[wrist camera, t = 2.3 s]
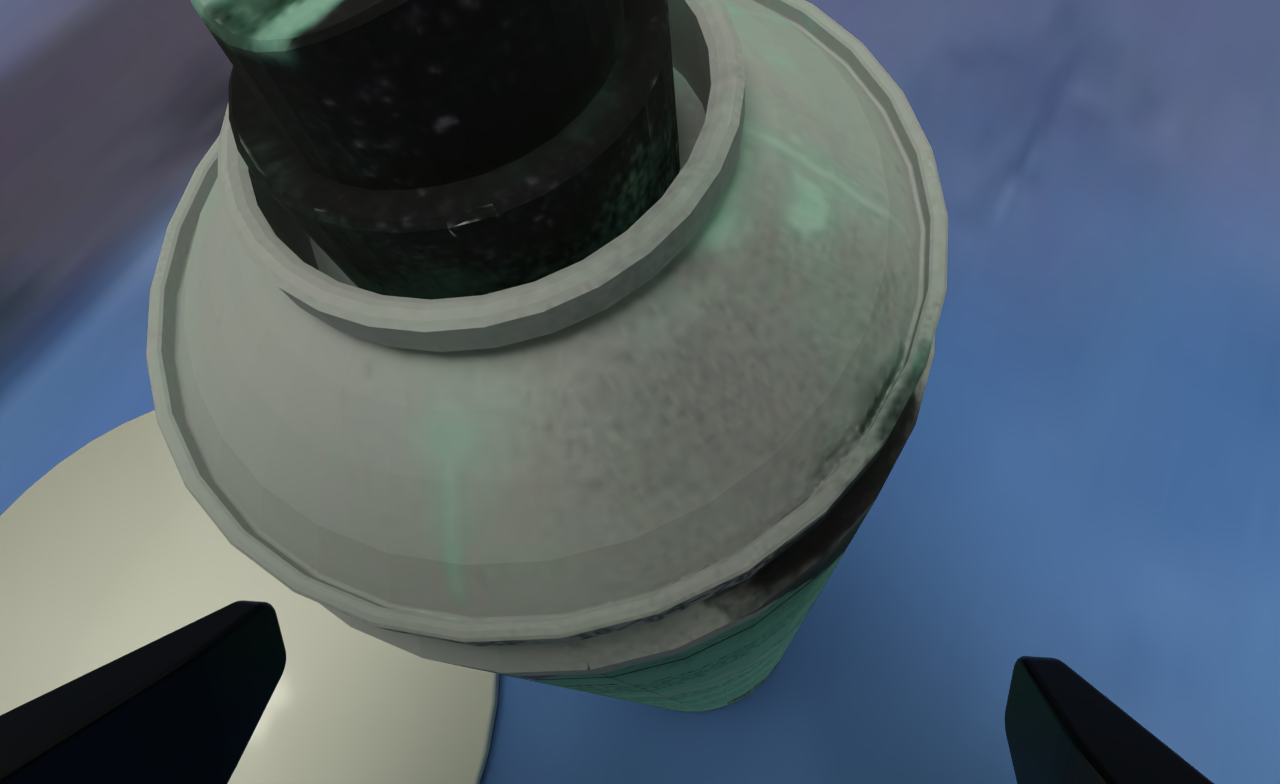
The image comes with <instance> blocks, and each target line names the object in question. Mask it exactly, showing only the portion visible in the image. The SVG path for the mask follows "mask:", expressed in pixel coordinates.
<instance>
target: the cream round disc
mask: <svg viewBox="0 0 1280 784" xmlns="http://www.w3.org/2000/svg"><path fill="white" fill-rule="evenodd" d="M241 600H247V601H261V602H267V603H269V604H271V605H272V606H273V607H274V609H275V611H276V614H277V618H278V622H279V626H280V630H281V634H282V638H283V641H284V645H285V649H286V665H285V669H284V672H283V674H282V676H281V678H280V680H279V682H278V684H277V686H276V688H275V690H274V692H273V694H272V696H271V698H270V700H269V702H268V704H267V706H266V709H265V711H264V713H263V715H262V717H261V719H260V721H259V723H258V725H257V727H256V729H255V731H254V733H253V735H252V737H251V739H250V741H249V743H248V745H247V747H246V749H245V751H244V753H243V755H242V757H241V759H240V761H239V763H238V765H237V767H236V769H235V770H234V772H233V774H232V776H231V778H230V780H229V782H228V784H480V781H481V778H482V774H483V771H484V767H485V764H486V761H487V757H488V754H489V750H490V744H491V738H492V733H493V727H494V722H495V716H496V710H497V705H498V689H499V674H496V673H492V672H487V671H482V670H477V669H472V668H467V667H462V666H458V665H453V664H448V663H443V662H438V661H433V660H429V659H424V658H421V657H419V656H416V655H414V654H412V653H409V652H407V651H405V650H403V649H400V648H398V647H396V646H393V645H391V644H389V643H386V642H384V641H382V640H379V639H377V638H375V637H373V636H370V635H368V634H366V633H363V632H361V631H359V630H356V629H354V628H352V627H350V626H349V625H347V624H346V623H345V622H343V621H342V620H341V619H339V618H338V617H337V616H335V615H334V614H333V613H331V612H330V611H329V610H327V609H326V608H325V607H323V606H322V605H321V604H319V603H318V602H316V601H313V600H311V599H309V598H306V597H304V596H302V595H299V594H297V593H295V592H293V591H292V590H290V589H289V588H288V587H286V586H285V585H284V584H283V583H281V582H280V581H279V580H277V579H276V578H275V577H273V576H272V575H271V574H269V573H268V572H267V571H265V570H264V569H263V568H261V567H260V566H259V565H257V564H256V563H255V562H254V561H252V560H251V559H250V558H248V557H247V556H246V555H244V554H243V553H242V552H240V551H239V550H238V549H236V548H235V547H234V546H232V545H231V544H230V543H229V541H228V540H227V539H226V537H225V536H224V535H223V534H222V532H221V531H220V530H219V529H218V527H217V526H216V525H215V524H214V522H213V521H212V520H211V518H210V517H209V516H208V515H207V513H206V512H205V511H204V510H203V508H202V507H201V506H200V505H199V503H198V502H197V501H196V499H195V498H194V497H193V496H192V494H191V493H190V492H189V491H188V489H187V488H186V487H185V485H184V482H183V480H182V478H181V476H180V473H179V471H178V469H177V466H176V464H175V462H174V460H173V457H172V455H171V453H170V450H169V448H168V446H167V444H166V441H165V439H164V437H163V435H162V432H161V430H160V428H159V425H158V423H157V418H156V412H155V410H154V411H152V412H149V413H147V414H145V415H142V416H140V417H138V418H135V419H133V420H131V421H128V422H126V423H124V424H122V425H120V426H118V427H117V428H115V429H113V430H111V431H109V432H107V433H106V434H104V435H102V436H100V437H98V438H97V439H95V440H93V441H91V442H90V443H88V444H87V445H85V446H84V447H82V448H81V449H79V450H78V451H76V452H75V453H74V454H72V455H71V456H69V457H68V458H66V459H65V460H63V461H62V462H60V463H59V464H58V465H56V466H55V467H54V468H53V469H52V470H50V471H49V472H48V473H47V474H46V475H44V476H43V477H42V478H41V479H39V480H38V481H37V482H36V483H35V484H33V485H32V486H31V487H30V488H29V489H27V490H26V491H25V492H24V493H23V494H22V495H21V496H20V497H19V498H18V499H17V500H16V501H15V502H14V503H13V504H12V505H11V506H10V507H9V508H8V509H7V510H6V511H5V512H4V513H3V514H2V515H1V516H0V715H2V714H4V713H6V712H8V711H10V710H12V709H14V708H16V707H19V706H21V705H23V704H25V703H27V702H29V701H31V700H33V699H35V698H37V697H39V696H41V695H43V694H45V693H47V692H50V691H52V690H54V689H56V688H58V687H60V686H62V685H64V684H66V683H68V682H70V681H72V680H74V679H76V678H78V677H81V676H83V675H85V674H87V673H89V672H91V671H93V670H95V669H97V668H99V667H101V666H103V665H105V664H107V663H110V662H112V661H114V660H116V659H118V658H120V657H122V656H124V655H126V654H128V653H130V652H132V651H134V650H136V649H138V648H141V647H143V646H145V645H147V644H149V643H151V642H153V641H155V640H157V639H159V638H161V637H163V636H165V635H167V634H169V633H172V632H174V631H176V630H178V629H180V628H182V627H184V626H186V625H188V624H190V623H192V622H194V621H196V620H198V619H200V618H203V617H205V616H207V615H209V614H211V613H213V612H215V611H217V610H219V609H221V608H223V607H225V606H227V605H229V604H231V603H234V602H236V601H241Z"/></svg>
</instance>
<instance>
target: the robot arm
mask: <svg viewBox="0 0 1280 784" xmlns="http://www.w3.org/2000/svg"><path fill="white" fill-rule="evenodd" d="M285 665H286V649H285V645H284V641H283V638H282V634H281V630H280V626H279V622H278V618H277V614H276V611H275V609H274V607H273V606H272V605H271V604H269V603H267V602H261V601H247V600H241V601H236V602H234V603H231V604H229V605H227V606H225V607H223V608H221V609H219V610H217V611H215V612H213V613H211V614H209V615H207V616H205V617H203V618H200V619H198V620H196V621H194V622H192V623H190V624H188V625H186V626H184V627H182V628H180V629H178V630H176V631H174V632H172V633H169V634H167V635H165V636H163V637H161V638H159V639H157V640H155V641H153V642H151V643H149V644H147V645H145V646H143V647H141V648H138V649H136V650H134V651H132V652H130V653H128V654H126V655H124V656H122V657H120V658H118V659H116V660H114V661H112V662H110V663H107V664H105V665H103V666H101V667H99V668H97V669H95V670H93V671H91V672H89V673H87V674H85V675H83V676H81V677H78V678H76V679H74V680H72V681H70V682H68V683H66V684H64V685H62V686H60V687H58V688H56V689H54V690H52V691H50V692H47V693H45V694H43V695H41V696H39V697H37V698H35V699H33V700H31V701H29V702H27V703H25V704H23V705H21V706H19V707H16V708H14V709H12V710H10V711H8V712H6V713H4V714H2V715H0V784H228V782H229V780H230V778H231V776H232V774H233V772H234V770H235V769H236V767H237V765H238V763H239V761H240V759H241V757H242V755H243V753H244V751H245V749H246V747H247V745H248V743H249V741H250V739H251V737H252V735H253V733H254V731H255V729H256V727H257V725H258V723H259V721H260V719H261V717H262V715H263V713H264V711H265V709H266V706H267V704H268V702H269V700H270V698H271V696H272V694H273V692H274V690H275V688H276V686H277V684H278V682H279V680H280V678H281V676H282V674H283V672H284V669H285ZM1005 729H1006V736H1007V740H1008V745H1009V749H1010V753H1011V758H1012V762H1013V766H1014V771H1015V775H1016V779H1017V784H1214V783H1212V782H1211V781H1210V780H1209V779H1208V778H1206V777H1205V776H1204V775H1203V774H1201V773H1200V772H1199V771H1198V770H1196V769H1195V768H1194V767H1193V766H1191V765H1190V764H1189V763H1188V762H1186V761H1185V760H1184V759H1183V758H1181V757H1180V756H1179V755H1178V754H1176V753H1175V752H1174V751H1173V750H1171V749H1170V748H1169V747H1168V746H1167V745H1165V744H1164V743H1163V742H1162V741H1160V740H1159V739H1158V738H1157V737H1155V736H1154V735H1153V734H1152V733H1150V732H1149V731H1148V730H1147V729H1145V728H1144V727H1143V726H1142V725H1140V724H1139V723H1138V722H1137V721H1135V720H1134V719H1133V718H1132V717H1130V716H1129V715H1128V714H1127V713H1126V712H1124V711H1123V710H1122V709H1121V708H1119V707H1118V706H1117V705H1116V704H1114V703H1113V702H1112V701H1111V700H1109V699H1108V698H1107V697H1106V696H1104V695H1103V694H1102V693H1101V692H1099V691H1098V690H1097V689H1096V688H1094V687H1093V686H1092V685H1091V684H1090V683H1088V682H1087V681H1086V680H1085V679H1083V678H1082V677H1081V676H1080V675H1078V674H1077V673H1076V672H1075V671H1073V670H1072V669H1071V668H1070V667H1068V666H1067V665H1066V664H1065V663H1063V662H1062V661H1060V660H1058V659H1055V658H1045V657H1031V656H1022V657H1021V658H1019V659H1018V660H1017V661H1016V663H1015V665H1014V669H1013V675H1012V680H1011V685H1010V690H1009V695H1008V700H1007V705H1006V710H1005Z"/></svg>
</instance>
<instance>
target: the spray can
mask: <svg viewBox="0 0 1280 784" xmlns="http://www.w3.org/2000/svg"><path fill="white" fill-rule="evenodd" d="M191 3H192V5H193V6H194V8H195V9H196V11H197V12H198V14H199V15H200V17H201V18H202V20H203V21H204V23H205V24H206V26H207V27H208V29H209V30H210V32H211V33H212V35H213V36H214V38H215V39H216V41H217V42H218V44H219V45H220V47H221V48H222V50H223V51H224V53H225V54H226V56H227V57H228V59H229V60H230V61H231V63H232V64H233V68H232V72H231V76H230V80H229V86H228V89H229V102H228V105H227V109H226V113H225V117H224V121H223V125H222V129H221V133H220V135H219V137H218V138H217V140H216V141H215V142H214V144H213V145H212V147H211V148H210V149H209V151H208V152H207V154H206V155H205V156H204V158H203V159H202V161H201V162H200V163H199V165H198V166H197V168H196V169H195V171H194V174H193V176H192V178H191V180H190V182H189V184H188V186H187V188H186V190H185V192H184V194H183V196H182V198H181V200H180V202H179V204H178V206H177V209H176V211H175V213H174V215H173V217H172V219H171V221H170V223H169V225H168V227H167V231H166V234H165V238H164V242H163V245H162V249H161V253H160V256H159V260H158V264H157V267H156V271H155V275H154V278H153V282H152V286H151V289H150V300H149V317H148V334H147V350H146V359H147V365H148V371H149V377H150V382H151V388H152V394H153V400H154V406H155V412H156V418H157V423H158V425H159V428H160V430H161V432H162V435H163V437H164V439H165V441H166V444H167V446H168V448H169V450H170V453H171V455H172V457H173V460H174V462H175V464H176V466H177V469H178V471H179V473H180V476H181V478H182V480H183V482H184V485H185V487H186V488H187V489H188V491H189V492H190V493H191V494H192V496H193V497H194V498H195V499H196V501H197V502H198V503H199V505H200V506H201V507H202V508H203V510H204V511H205V512H206V513H207V515H208V516H209V517H210V518H211V520H212V521H213V522H214V524H215V525H216V526H217V527H218V529H219V530H220V531H221V532H222V534H223V535H224V536H225V537H226V539H227V540H228V541H229V543H230V544H231V545H232V546H234V547H235V548H236V549H238V550H239V551H240V552H242V553H243V554H244V555H246V556H247V557H248V558H250V559H251V560H252V561H254V562H255V563H256V564H257V565H259V566H260V567H261V568H263V569H264V570H265V571H267V572H268V573H269V574H271V575H272V576H273V577H275V578H276V579H277V580H279V581H280V582H281V583H283V584H284V585H285V586H286V587H288V588H289V589H290V590H292V591H293V592H295V593H297V594H299V595H302V596H304V597H306V598H309V599H311V600H313V601H316V602H318V603H319V604H321V605H322V606H323V607H325V608H326V609H327V610H329V611H330V612H331V613H333V614H334V615H335V616H337V617H338V618H339V619H341V620H342V621H343V622H345V623H346V624H347V625H349V626H350V627H352V628H354V629H356V630H359V631H361V632H363V633H366V634H368V635H370V636H373V637H375V638H377V639H379V640H382V641H384V642H386V643H389V644H391V645H393V646H396V647H398V648H400V649H403V650H405V651H407V652H409V653H412V654H414V655H416V656H419V657H421V658H424V659H429V660H433V661H438V662H443V663H448V664H453V665H458V666H462V667H467V668H472V669H477V670H482V671H487V672H492V673H496V674H501V675H506V676H511V677H516V678H521V679H525V680H530V681H535V682H540V683H545V684H550V685H554V686H559V687H564V688H569V689H574V690H579V691H584V692H588V693H593V694H598V695H603V696H608V697H613V698H617V699H622V700H627V701H632V702H637V703H642V704H646V705H651V706H656V707H661V708H666V709H671V710H677V711H682V712H702V711H710V710H714V709H718V708H722V707H726V706H728V705H730V704H732V703H734V702H736V701H738V700H740V699H742V698H744V697H746V696H747V695H748V694H750V693H751V692H752V691H754V690H755V689H756V688H757V687H759V686H760V685H761V684H762V683H763V682H764V681H765V680H766V678H767V677H768V676H769V675H770V674H771V672H772V671H773V670H774V669H775V667H776V666H777V664H778V662H779V661H780V659H781V657H782V656H783V654H784V652H785V651H786V649H787V647H788V646H789V644H790V642H791V641H792V639H793V637H794V636H795V634H796V632H797V630H798V629H799V627H800V625H801V624H802V622H803V620H804V619H805V617H806V615H807V614H808V612H809V610H810V609H811V607H812V605H813V604H814V602H815V600H816V599H817V597H818V595H819V594H820V592H821V590H822V589H823V587H824V585H825V584H826V582H827V580H828V579H829V577H830V575H831V573H832V572H833V570H834V568H835V567H836V565H837V563H838V562H839V560H840V558H841V557H842V555H843V553H844V552H845V550H846V548H847V547H848V545H849V543H850V542H851V540H852V538H853V537H854V535H855V533H856V532H857V530H858V528H859V527H860V525H861V523H862V521H863V520H864V518H865V516H866V515H867V513H868V511H869V510H870V508H871V506H872V505H873V503H874V501H875V500H876V498H877V496H878V494H879V493H880V491H881V489H882V487H883V485H884V483H885V481H886V479H887V477H888V476H889V474H890V472H891V470H892V468H893V466H894V464H895V462H896V460H897V459H898V457H899V455H900V453H901V451H902V449H903V447H904V445H905V443H906V441H907V440H908V438H909V436H910V434H911V432H912V430H913V428H914V426H915V424H916V421H917V417H918V413H919V409H920V406H921V402H922V398H923V394H924V391H925V387H926V383H927V379H928V375H929V372H930V368H931V364H932V360H933V357H934V344H935V332H936V328H937V325H938V321H939V317H940V313H941V310H942V306H943V302H944V298H945V295H946V291H947V247H948V215H947V210H946V206H945V202H944V197H943V193H942V189H941V184H940V180H939V176H938V171H937V167H936V162H935V158H934V154H933V150H932V148H931V146H930V144H929V142H928V140H927V138H926V136H925V134H924V132H923V130H922V128H921V126H920V124H919V122H918V120H917V118H916V116H915V114H914V112H913V110H912V108H911V106H910V104H909V102H908V100H907V98H906V97H905V95H904V93H903V91H902V90H901V89H900V88H899V86H898V85H897V84H896V83H895V82H894V80H893V79H892V78H891V77H890V76H889V74H888V73H887V72H886V71H885V70H884V68H883V67H882V66H881V65H880V64H879V62H878V61H877V60H876V59H875V58H874V56H873V55H872V54H871V53H870V52H869V50H868V49H867V48H866V47H865V46H864V44H863V43H861V42H860V41H859V40H858V39H856V38H855V37H854V36H853V35H851V34H850V33H849V32H848V31H846V30H845V29H844V28H842V27H841V26H840V25H839V24H837V23H836V22H835V21H834V20H832V19H831V18H830V17H828V16H827V15H826V14H825V13H823V12H822V11H821V10H820V9H818V8H817V7H816V6H814V5H813V4H811V3H809V2H807V1H805V0H191Z"/></svg>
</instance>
